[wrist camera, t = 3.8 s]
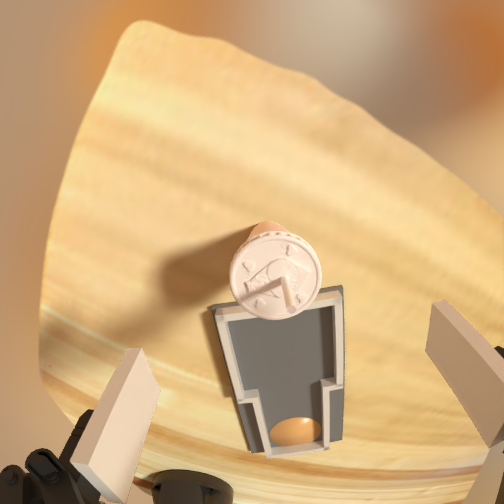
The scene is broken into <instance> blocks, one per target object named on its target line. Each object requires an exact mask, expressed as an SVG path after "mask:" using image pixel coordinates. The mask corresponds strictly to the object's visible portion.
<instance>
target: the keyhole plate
mask: <svg viewBox="0 0 504 504" xmlns="http://www.w3.org/2000/svg"><path fill="white" fill-rule="evenodd" d="M211 308H212V312H213V316H214V320H215V324H216V328H217V332H218V336H219V340H220V344H221V348H222V351H223V355H224V359H225V363H226V366H227V370H228V374H229V377H230V381H231V385H232V388H233V392H234V395H235V399H236V402H237V406H238V409H239V412H240V416H241V419H242V423H243V426H244V429H245V433H246V436H247V439H248V442H249V446H250V449H251V452H252V453H259V452H265V454H266V458H267V459H268V458H277V457H285V456H293V455H300V454H306V453H312V452H318V451H324V450H329V443H330V442H334V441H339V440H342V432H343V411H344V370H345V344H344V301H343V287H342V285H339V286H333V287H327V288H322V289H319V292H318V294H317V296H316V298H315V299H314V301H313V302H312V303H311V304H310V305H309V306H308V307H307V308H306V309H305V310H303V311H302V312H300V313H299V314H297V315H295V316H292V317H290V318H286V319H281V320H268V319H262V318H259V317H256V316H254V315H252V314H250V313H248V312H247V311H245V310H244V309H243V308H242V307H241V306H240V305H239V304H238V302H229V303H222V304H214V305H212V307H211Z"/></svg>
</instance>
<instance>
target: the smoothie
mask: <svg viewBox="0 0 504 504" xmlns="http://www.w3.org/2000/svg"><path fill="white" fill-rule="evenodd" d="M229 278H230V287H231V291H232V294H233V296H234V298H235V300H236V301H237V302H238V304H239V305H240V306H241V307H242V308H243V309H244V310H245V311H247V312H248V313H250V314H252V315H254V316H256V317H259V318H262V319H268V320H281V319H286V318H290V317H292V316H295V315H297V314H299V313H300V312H302V311H303V310H305V309H306V308H307V307H308V306H309V305H310V304H311V303H312V302H313V301H314V299H315V298H316V296H317V294H318V292H319V289H320V286H321V281H322V271H321V266H320V263H319V260H318V258H317V255H316V253H315V251H314V250H313V249H312V247H311V246H310V244H308V243H307V242H306V241H305V240H303V239H302V238H301V237H299V236H297V235H294V234H292V233H290V232H288V231H287V230H286V229H285V228H284V227H283V226H282V225H280V224H279V223H277V222H274V221H264V222H261V223H259V224H258V225H256V226H255V227H254V228H253V230H252V232H251V233H250V235H249V237H248V239H247V241H246V242H244V243H243V244H242V245H241V246H240V248H239V249H238V250H237V251H236V253H235V254H234V257H233V259H232V261H231V264H230V271H229Z"/></svg>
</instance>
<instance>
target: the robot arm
mask: <svg viewBox="0 0 504 504" xmlns="http://www.w3.org/2000/svg"><path fill="white" fill-rule="evenodd" d="M425 352H426V353H427V354H428V356H429V357H430V359H431V360H432V361H433V363H434V364H435V366H436V367H437V369H438V370H439V371H440V373H441V374H442V376H443V377H444V379H445V380H446V382H447V383H448V385H449V386H450V388H451V389H452V391H453V392H454V394H455V395H456V397H457V398H458V400H459V401H460V403H461V404H462V406H463V408H464V409H465V411H466V412H467V414H468V415H469V417H470V419H471V420H472V422H473V423H474V425H475V427H476V428H477V430H478V431H479V433H480V435H481V436H482V438H483V440H484V441H485V443H486V445H487V447H488V448H490V447H492V446H494V445H496V444H498V443H500V442H501V441H503V440H504V348H502V347H500V346H497V347H495V348H493V347H492V346H491V345H490V344H489V343H488V342H487V341H486V339H485V338H484V337H483V336H482V335H481V334H480V333H479V332H478V331H477V330H476V329H475V328H474V327H473V326H472V325H471V324H470V323H469V322H468V321H467V320H466V319H465V318H464V317H463V316H462V315H461V314H460V313H459V312H458V311H457V310H456V309H455V308H454V307H453V306H451V305H450V304H449V303H448V302H447V301H446V300H442V301H438V302H434V303H432V308H431V316H430V324H429V331H428V337H427V343H426V349H425ZM160 392H161V391H160V388H159V386H158V384H157V382H156V379H155V377H154V375H153V372H152V370H151V368H150V365H149V363H148V361H147V358H146V356H145V353H144V351H143V348H142V347H136V348H127V350H126V351H125V353H124V355H123V357H122V359H121V360H120V362H119V364H118V366H117V368H116V370H115V372H114V373H113V375H112V377H111V379H110V381H109V383H108V385H107V387H106V389H105V390H104V392H103V394H102V396H101V398H100V400H99V402H98V404H97V406H96V408H95V410H90V409H88V410H87V411H86V412H85V413H84V414H83V415H82V416H81V417H80V418H79V420H78V422H77V424H76V425H75V429H73V431H72V433H71V436H70V437H69V439H68V441H67V443H66V445H65V447H64V449H63V451H62V453H61V455H60V457H59V459H58V458H57V457H56V456H55V455H54V454H53V453H52V452H51V451H50V450H48V449H44V448H41V449H37V450H35V451H33V452H31V454H30V455H29V456H28V457H27V459H26V461H25V468H26V469H27V470H28V471H29V472H30V473H25V472H24V471H23V470H22V469H21V468H20V467H19V466H17V465H9V466H7V467H6V468H4V469H3V470H2V472H1V473H0V504H105V503H104V502H102V501H101V502H100V501H99V498H100V495H102V496H104V497H105V498H106V499H107V500H108V501H110V502H115V503H121V504H126V502H127V498H128V495H129V491H130V488H131V484H132V481H133V478H134V474H135V471H136V468H137V464H138V461H139V458H140V455H141V451H142V448H143V445H144V442H145V438H146V435H147V432H148V429H149V426H150V423H151V420H152V417H153V413H154V410H155V407H156V404H157V401H158V398H159V395H160ZM503 453H504V451H503ZM151 490H152V496H153V502H154V504H232V503H233V489H232V487H231V486H230V485H229V484H227V483H226V482H224V481H223V480H221V479H219V478H216V477H214V476H211V475H207V474H204V473H199V472H194V471H186V470H170V471H164V472H161V473H158V474H157V475H156V476H155V477H154V479H153V483H152V489H151ZM495 504H504V473H503V477H502V481H501V485H500V488H499V492H498V495H497V499H496V502H495Z"/></svg>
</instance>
